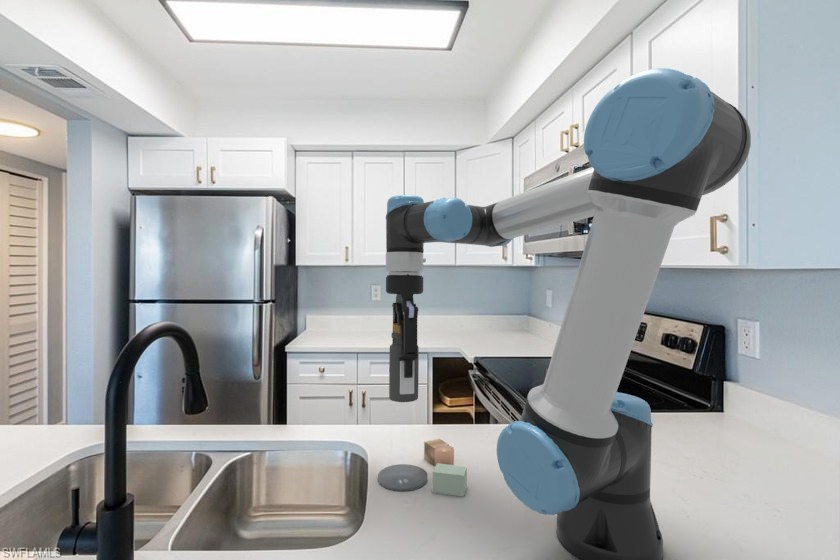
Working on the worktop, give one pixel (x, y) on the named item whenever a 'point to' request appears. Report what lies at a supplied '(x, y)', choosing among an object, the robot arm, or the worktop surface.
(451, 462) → the salmon pink block
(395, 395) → the bottle
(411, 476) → the coaster
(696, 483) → the worktop surface
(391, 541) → the worktop surface
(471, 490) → the worktop surface
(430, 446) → the oak block
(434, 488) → the sage block
